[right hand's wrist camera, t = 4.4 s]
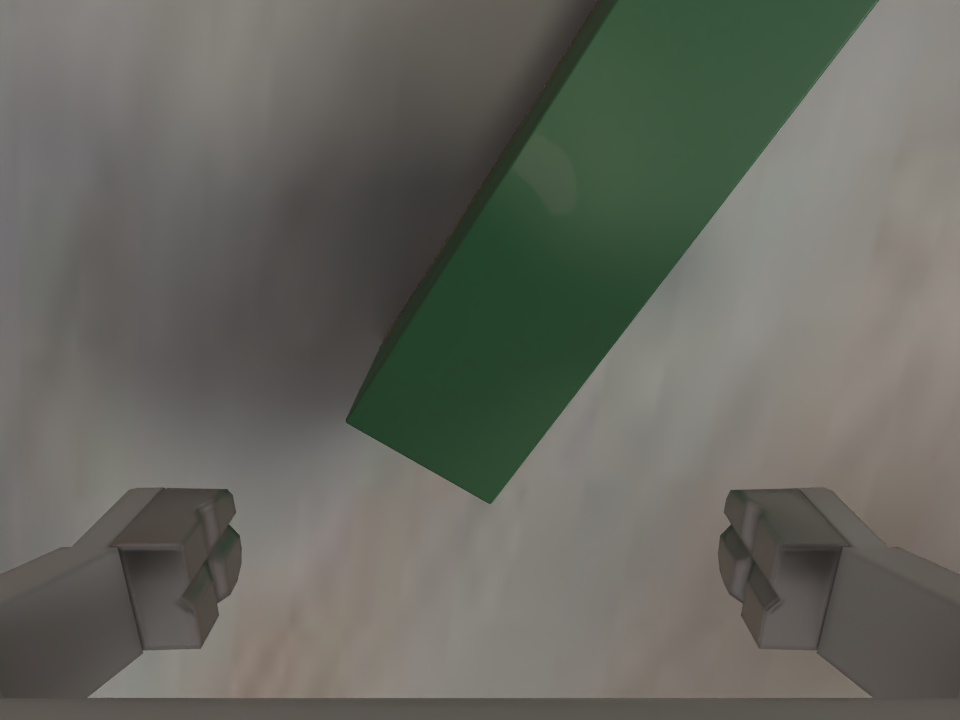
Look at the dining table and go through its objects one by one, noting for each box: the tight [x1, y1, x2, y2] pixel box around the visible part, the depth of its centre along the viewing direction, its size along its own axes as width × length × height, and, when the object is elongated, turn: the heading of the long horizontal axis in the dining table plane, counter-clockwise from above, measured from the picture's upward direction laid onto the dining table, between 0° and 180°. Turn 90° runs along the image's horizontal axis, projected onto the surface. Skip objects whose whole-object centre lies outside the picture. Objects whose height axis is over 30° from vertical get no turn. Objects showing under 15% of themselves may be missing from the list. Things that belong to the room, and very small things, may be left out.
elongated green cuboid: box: [346, 0, 879, 504], centre depth 20 cm, size 17×5×8 cm, turn 147°
